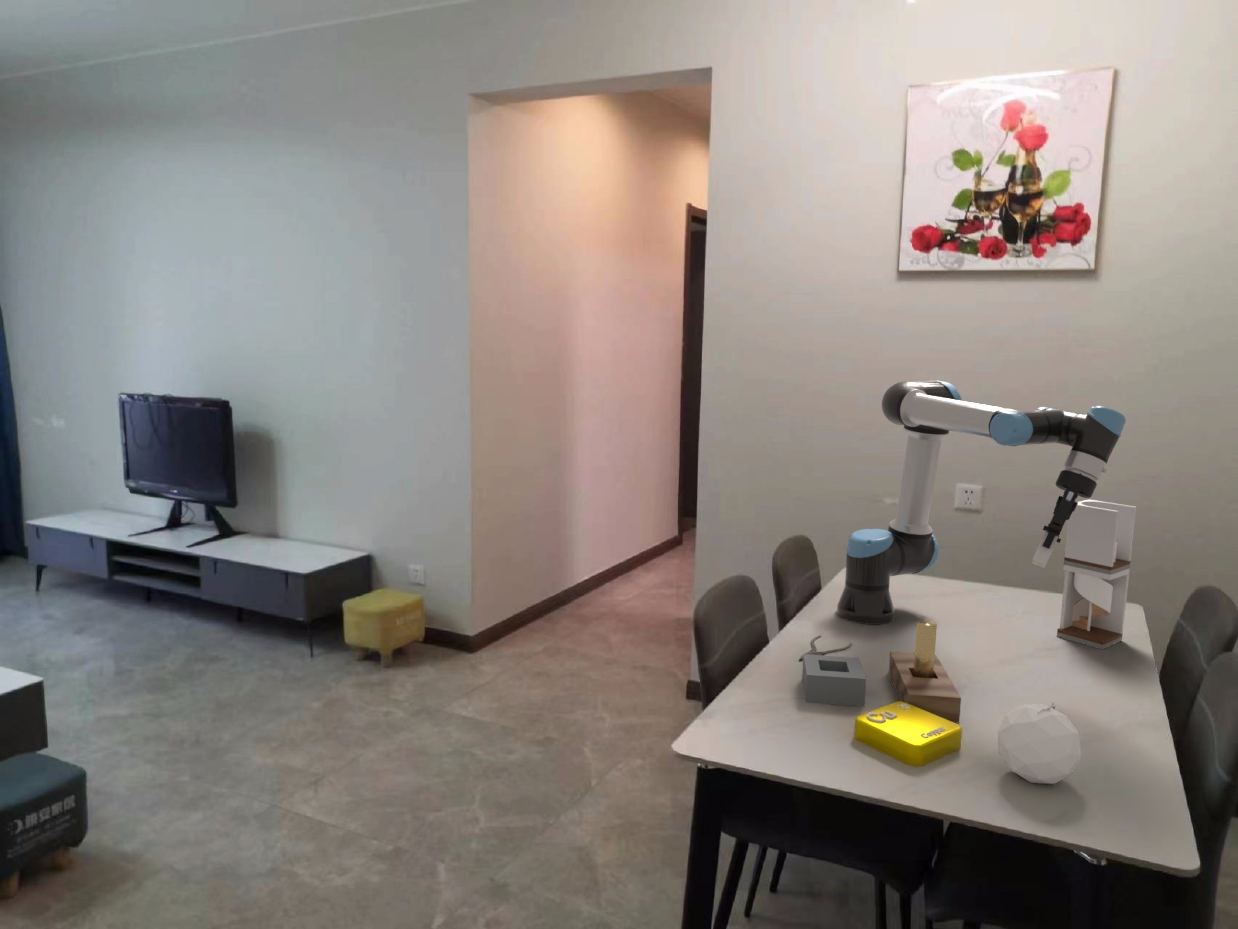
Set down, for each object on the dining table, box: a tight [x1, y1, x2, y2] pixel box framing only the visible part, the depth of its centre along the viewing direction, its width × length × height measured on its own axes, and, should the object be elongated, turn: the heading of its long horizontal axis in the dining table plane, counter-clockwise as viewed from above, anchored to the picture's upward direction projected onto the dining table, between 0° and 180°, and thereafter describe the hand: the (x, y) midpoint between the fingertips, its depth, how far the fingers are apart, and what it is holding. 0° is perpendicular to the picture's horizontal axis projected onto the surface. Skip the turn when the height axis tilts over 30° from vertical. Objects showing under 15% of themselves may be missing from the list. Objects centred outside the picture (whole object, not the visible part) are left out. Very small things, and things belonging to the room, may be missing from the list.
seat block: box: [801, 653, 867, 707], centre depth 188 cm, size 12×12×6 cm
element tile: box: [853, 700, 963, 768], centre depth 166 cm, size 15×15×5 cm
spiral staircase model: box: [1056, 498, 1137, 650], centre depth 222 cm, size 11×11×35 cm
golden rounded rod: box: [913, 620, 938, 678], centre depth 187 cm, size 4×4×16 cm
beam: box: [888, 651, 962, 722], centre depth 187 cm, size 24×10×5 cm, turn 172°
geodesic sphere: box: [997, 702, 1082, 785], centre depth 153 cm, size 14×14×14 cm
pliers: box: [798, 634, 853, 662], centre depth 213 cm, size 10×1×20 cm
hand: (1038, 564), depth 191 cm, fingers open, 13 cm apart
